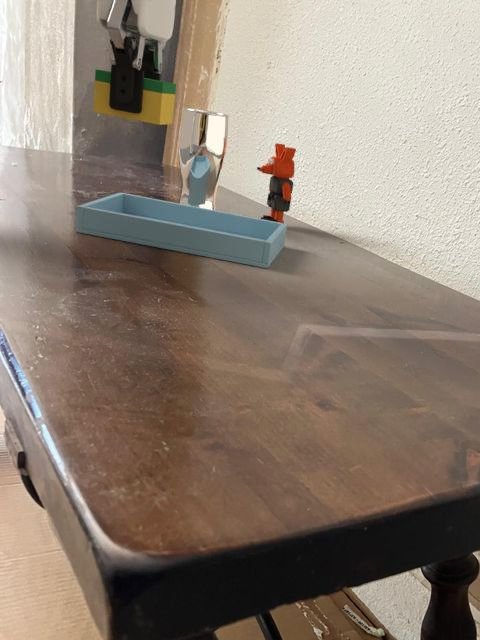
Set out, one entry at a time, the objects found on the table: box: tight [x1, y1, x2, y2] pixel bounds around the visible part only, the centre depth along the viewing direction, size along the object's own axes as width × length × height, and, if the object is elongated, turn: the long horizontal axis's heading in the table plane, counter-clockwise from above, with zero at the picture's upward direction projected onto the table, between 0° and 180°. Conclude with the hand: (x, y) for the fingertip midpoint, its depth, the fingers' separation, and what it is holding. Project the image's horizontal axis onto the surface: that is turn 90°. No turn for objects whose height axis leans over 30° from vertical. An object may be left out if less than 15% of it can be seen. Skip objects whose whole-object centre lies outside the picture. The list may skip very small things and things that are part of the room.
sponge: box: [93, 69, 177, 126], centre depth 77 cm, size 7×4×4 cm, turn 83°
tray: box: [75, 191, 288, 269], centre depth 96 cm, size 24×16×3 cm, turn 85°
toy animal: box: [256, 142, 297, 224], centre depth 115 cm, size 8×6×12 cm
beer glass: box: [178, 107, 230, 211], centre depth 109 cm, size 7×7×15 cm
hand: (134, 109), depth 78 cm, fingers closed on sponge, 4 cm apart
